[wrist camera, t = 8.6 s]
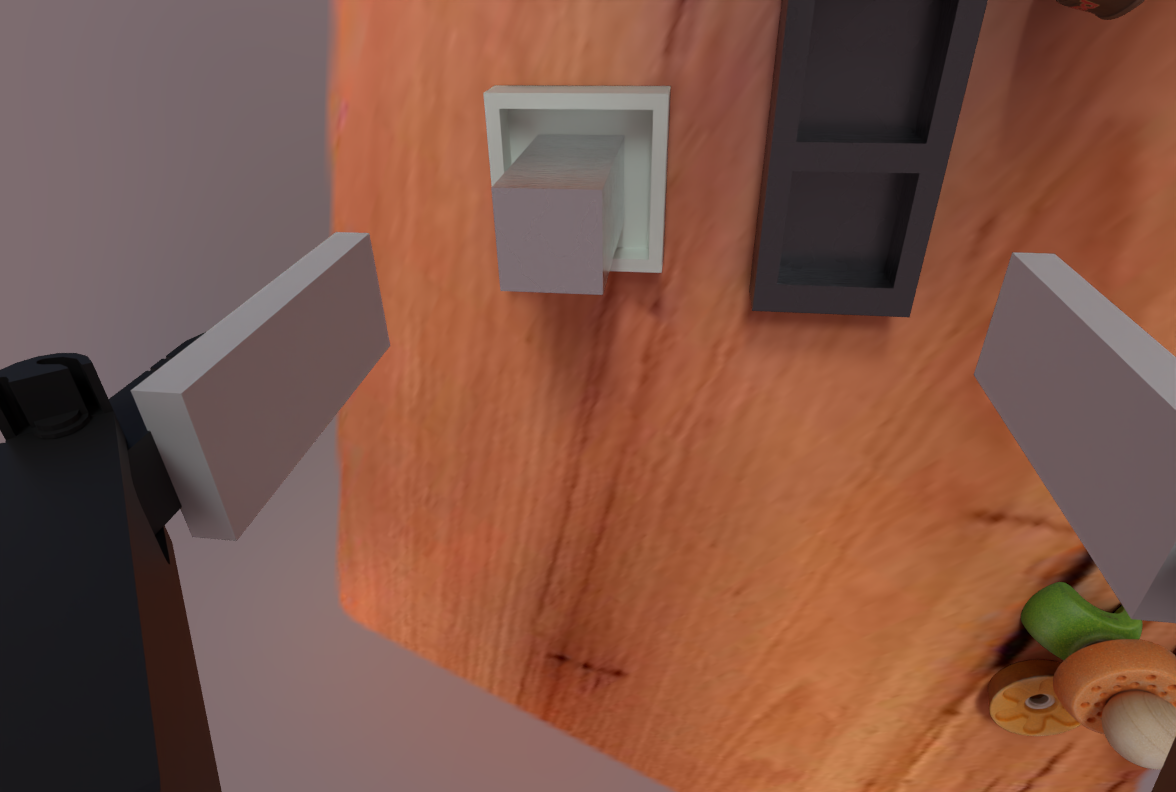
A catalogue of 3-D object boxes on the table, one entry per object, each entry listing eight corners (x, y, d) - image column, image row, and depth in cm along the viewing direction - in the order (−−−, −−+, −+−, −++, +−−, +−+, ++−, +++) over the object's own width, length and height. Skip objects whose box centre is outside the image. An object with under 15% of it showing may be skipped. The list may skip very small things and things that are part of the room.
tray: (494, 85, 40) (483, 92, 38) (670, 86, 39) (669, 93, 37) (508, 252, 46) (498, 267, 44) (663, 257, 45) (661, 272, 42)
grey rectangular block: (538, 134, 41) (491, 187, 32) (624, 135, 40) (602, 189, 31) (542, 218, 44) (500, 290, 34) (623, 221, 43) (602, 294, 34)
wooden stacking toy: (950, 698, 63) (1000, 848, 52) (1053, 564, 53) (1140, 713, 43) (1152, 744, 62) (1243, 904, 52) (1291, 617, 53) (1436, 781, 43)
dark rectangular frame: (786, -44, 35) (793, -43, 33) (977, -48, 34) (999, -47, 32) (749, 290, 45) (752, 310, 42) (897, 295, 44) (909, 317, 41)
